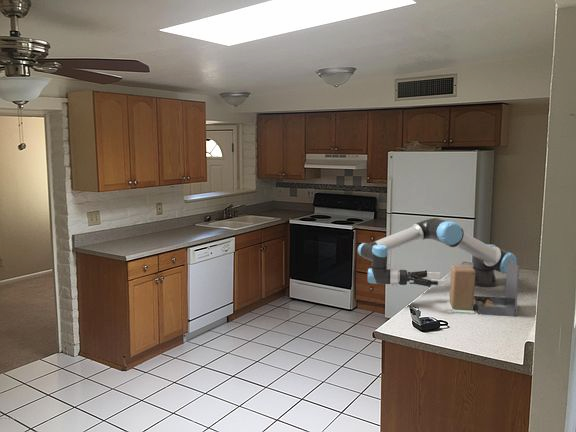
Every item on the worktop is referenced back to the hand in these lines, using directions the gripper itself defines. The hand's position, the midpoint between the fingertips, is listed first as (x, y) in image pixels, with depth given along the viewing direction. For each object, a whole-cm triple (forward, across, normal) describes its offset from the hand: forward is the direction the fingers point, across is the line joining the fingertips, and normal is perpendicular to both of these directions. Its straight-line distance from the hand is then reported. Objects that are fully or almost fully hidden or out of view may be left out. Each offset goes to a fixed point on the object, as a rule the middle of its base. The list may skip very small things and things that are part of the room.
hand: (442, 279), depth 248 cm
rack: (+24, 0, -14) cm, 28 cm away
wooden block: (+10, 0, -14) cm, 17 cm away
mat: (+10, 0, -14) cm, 17 cm away
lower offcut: (+19, 0, -15) cm, 24 cm away
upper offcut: (+22, 0, -13) cm, 25 cm away
